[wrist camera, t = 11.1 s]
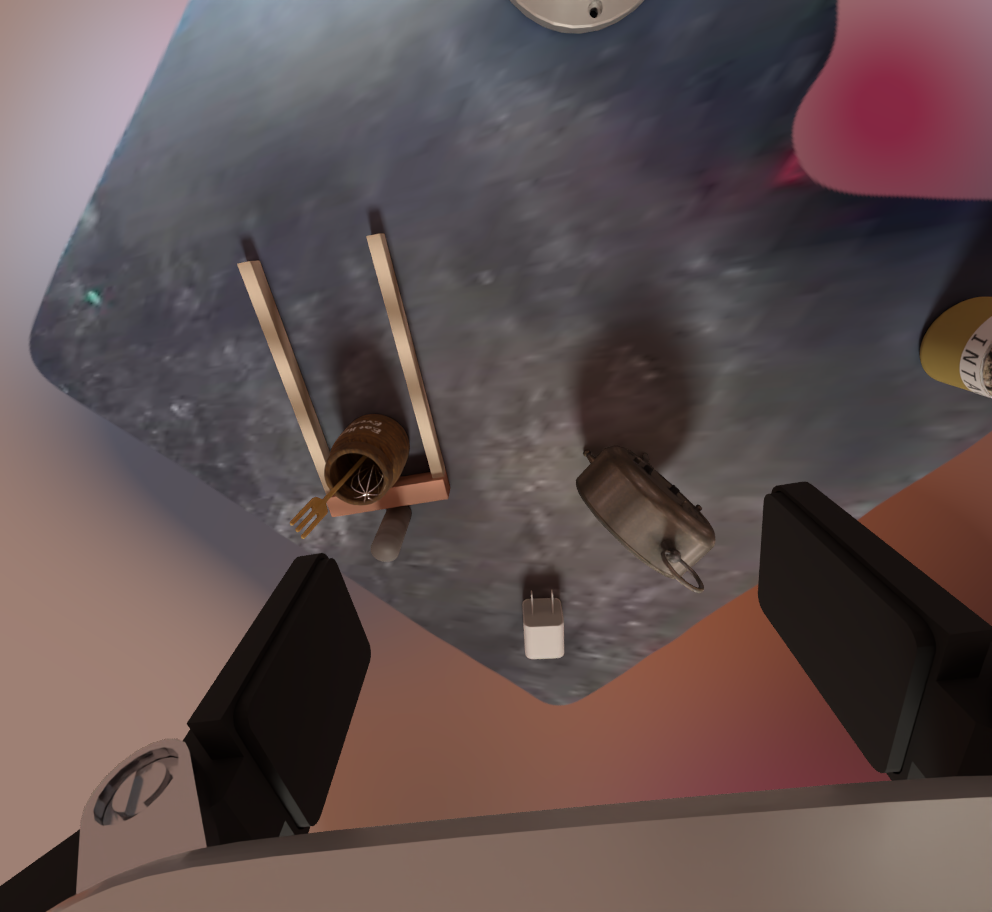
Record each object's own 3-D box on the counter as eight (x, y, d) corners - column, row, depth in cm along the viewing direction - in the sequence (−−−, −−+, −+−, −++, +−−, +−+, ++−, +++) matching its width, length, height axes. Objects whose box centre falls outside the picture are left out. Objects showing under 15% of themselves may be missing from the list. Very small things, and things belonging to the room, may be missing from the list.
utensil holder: (424, 454, 42) (396, 527, 31) (367, 483, 44) (322, 562, 33) (388, 399, 40) (345, 457, 29) (329, 431, 42) (267, 498, 31)
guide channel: (247, 263, 36) (201, 266, 30) (384, 233, 35) (362, 231, 29) (348, 531, 46) (328, 570, 40) (457, 514, 45) (450, 552, 39)
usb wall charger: (523, 629, 51) (525, 659, 47) (521, 579, 48) (522, 607, 45) (560, 628, 51) (564, 657, 47) (559, 577, 48) (564, 605, 44)
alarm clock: (563, 456, 42) (595, 570, 27) (604, 412, 40) (663, 509, 26) (647, 520, 45) (718, 656, 30) (690, 482, 43) (787, 606, 28)
